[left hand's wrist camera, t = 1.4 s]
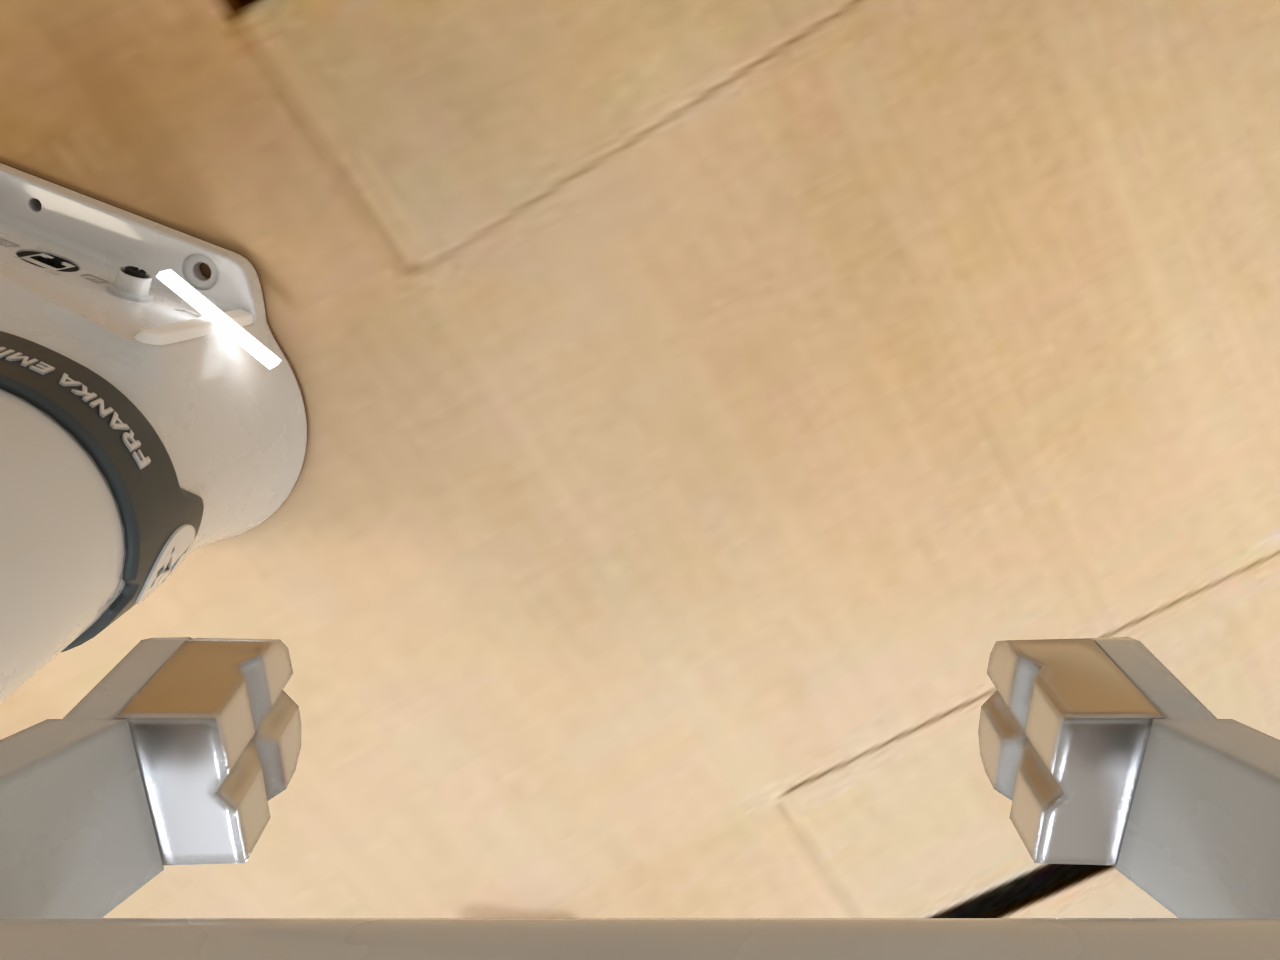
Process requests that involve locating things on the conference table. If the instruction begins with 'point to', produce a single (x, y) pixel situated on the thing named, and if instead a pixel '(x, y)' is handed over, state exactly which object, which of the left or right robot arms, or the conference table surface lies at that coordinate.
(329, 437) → the conference table surface
